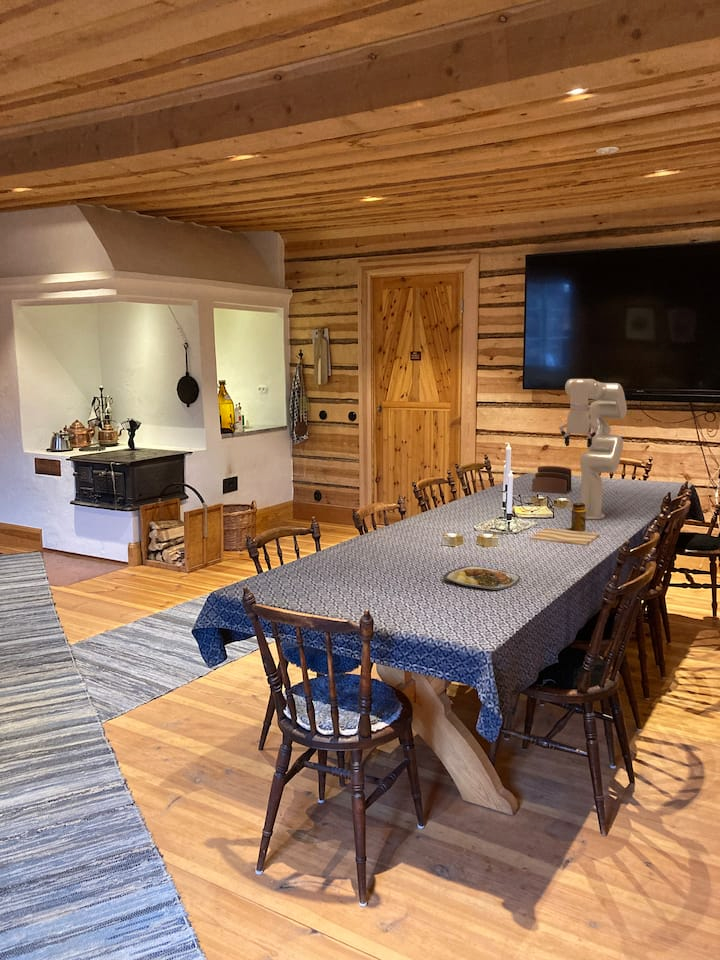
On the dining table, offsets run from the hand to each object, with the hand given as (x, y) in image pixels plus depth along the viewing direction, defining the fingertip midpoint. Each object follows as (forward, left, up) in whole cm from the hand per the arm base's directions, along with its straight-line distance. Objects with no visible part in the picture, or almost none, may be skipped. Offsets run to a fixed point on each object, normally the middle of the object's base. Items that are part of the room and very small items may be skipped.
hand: (578, 446), depth 345 cm
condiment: (+6, +2, -37) cm, 38 cm away
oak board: (+22, +2, -37) cm, 43 cm away
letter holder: (-83, -39, -37) cm, 99 cm away
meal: (+96, -4, -37) cm, 103 cm away
